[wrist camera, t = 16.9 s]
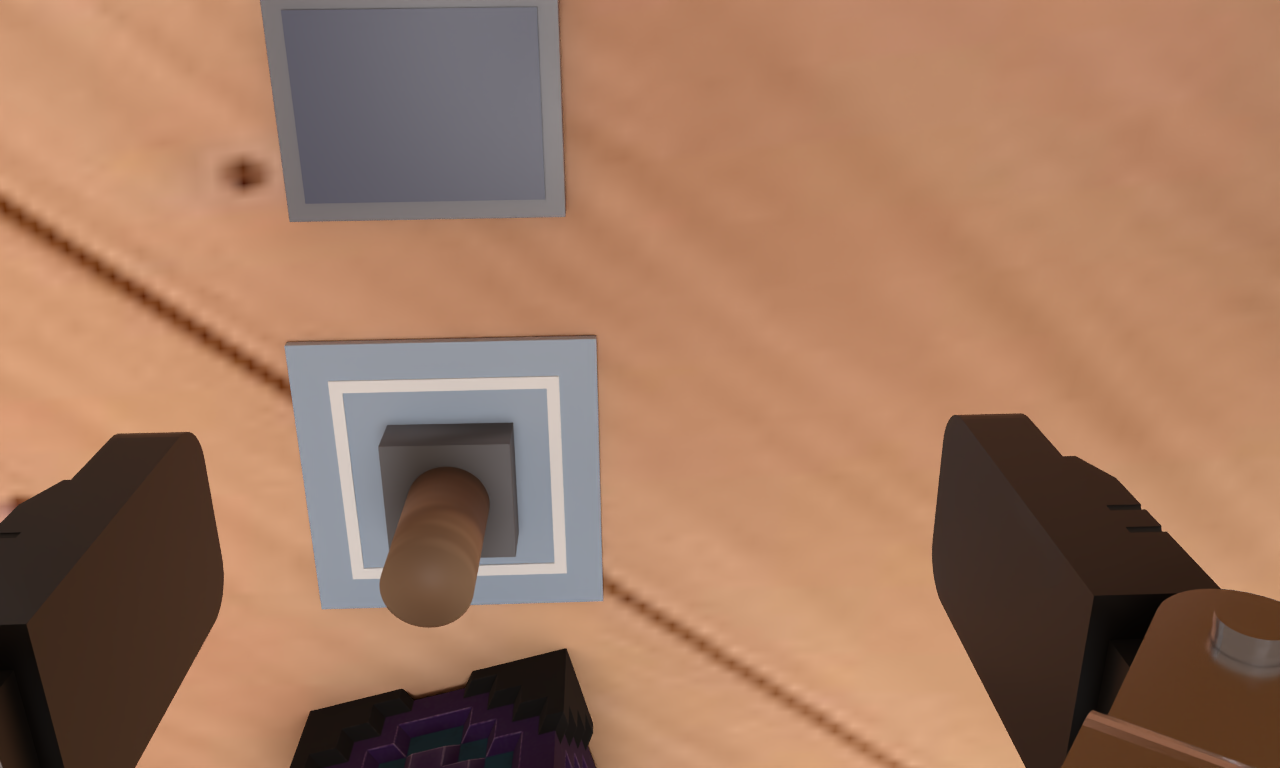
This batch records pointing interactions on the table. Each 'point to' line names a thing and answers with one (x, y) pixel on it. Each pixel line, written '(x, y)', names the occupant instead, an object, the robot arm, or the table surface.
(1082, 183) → the table surface
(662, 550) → the table surface
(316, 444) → the mat
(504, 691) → the energy cube
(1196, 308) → the table surface
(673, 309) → the table surface
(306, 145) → the pad
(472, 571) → the stamp
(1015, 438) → the robot arm
